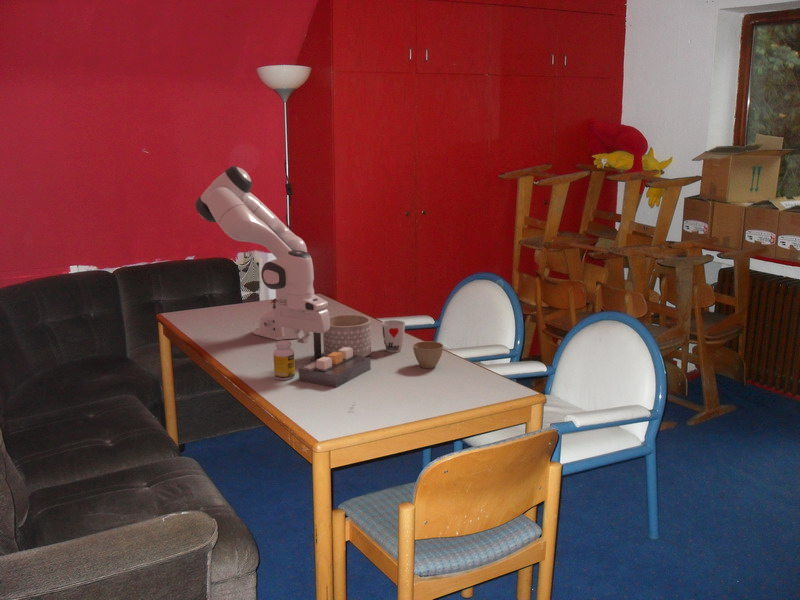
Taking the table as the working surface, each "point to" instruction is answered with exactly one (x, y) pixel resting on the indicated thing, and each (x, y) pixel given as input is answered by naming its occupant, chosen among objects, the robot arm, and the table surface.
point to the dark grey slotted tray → (335, 371)
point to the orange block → (336, 357)
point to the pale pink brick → (346, 352)
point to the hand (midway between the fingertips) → (302, 342)
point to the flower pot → (427, 353)
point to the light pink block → (324, 363)
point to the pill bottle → (284, 360)
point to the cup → (393, 335)
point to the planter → (348, 334)
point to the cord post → (317, 346)
